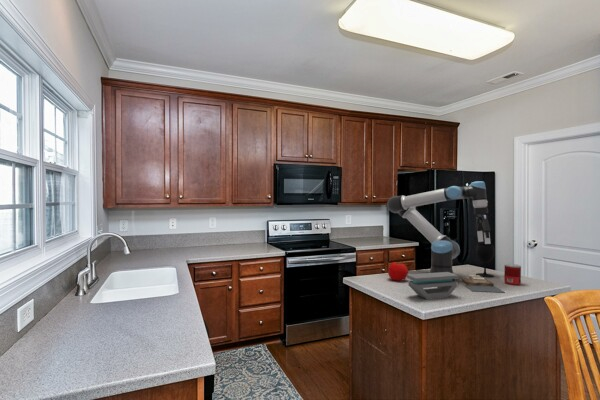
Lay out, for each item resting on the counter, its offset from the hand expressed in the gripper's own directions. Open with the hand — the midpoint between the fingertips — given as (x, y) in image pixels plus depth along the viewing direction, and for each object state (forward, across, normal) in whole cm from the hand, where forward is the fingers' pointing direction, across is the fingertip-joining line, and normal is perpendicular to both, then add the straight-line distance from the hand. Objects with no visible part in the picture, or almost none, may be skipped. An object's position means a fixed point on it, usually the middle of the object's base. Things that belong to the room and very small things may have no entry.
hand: (484, 242), depth 192 cm
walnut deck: (+23, -6, +8) cm, 25 cm away
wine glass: (+23, +18, -3) cm, 29 cm away
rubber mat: (+24, -16, +7) cm, 30 cm away
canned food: (+25, 0, -13) cm, 28 cm away
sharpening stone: (+22, -37, +36) cm, 57 cm away
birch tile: (+21, -6, +8) cm, 23 cm away
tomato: (+19, -9, +52) cm, 56 cm away
